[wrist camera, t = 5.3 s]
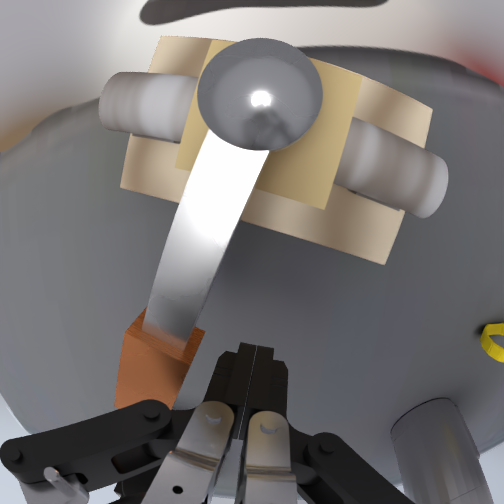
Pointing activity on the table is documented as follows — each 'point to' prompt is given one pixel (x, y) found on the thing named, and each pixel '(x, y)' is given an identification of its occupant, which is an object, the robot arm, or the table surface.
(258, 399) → the robot arm
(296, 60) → the lever
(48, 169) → the table surface
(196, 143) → the valve rig
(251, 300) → the table surface
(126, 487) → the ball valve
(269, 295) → the table surface
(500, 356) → the watch
